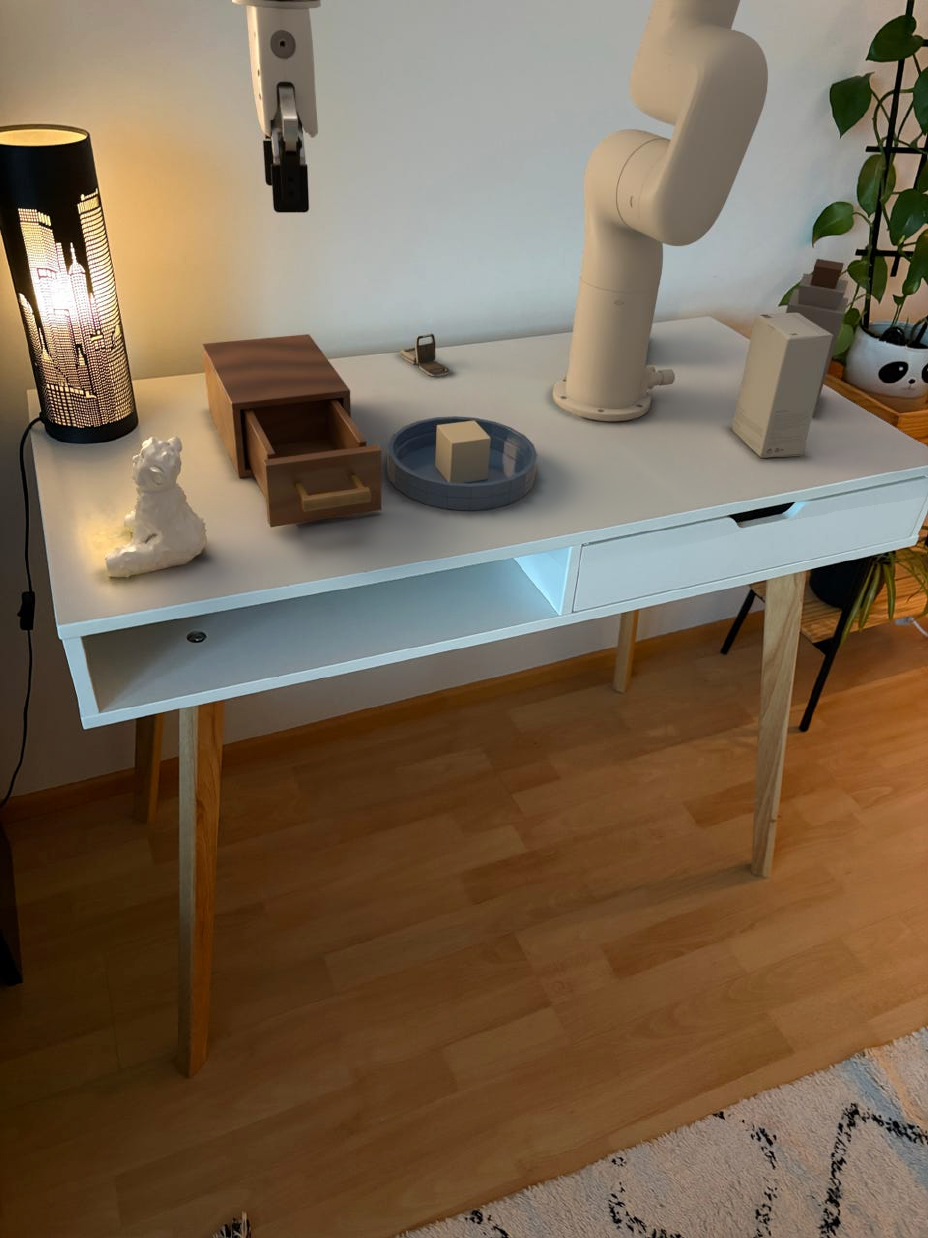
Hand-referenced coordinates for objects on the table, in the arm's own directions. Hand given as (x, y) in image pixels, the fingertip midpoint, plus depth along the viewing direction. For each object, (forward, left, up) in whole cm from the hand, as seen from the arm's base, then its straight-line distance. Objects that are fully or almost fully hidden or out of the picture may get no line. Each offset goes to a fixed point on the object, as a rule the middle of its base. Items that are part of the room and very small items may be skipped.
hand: (286, 197), depth 91 cm
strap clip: (-23, -20, -27) cm, 41 cm away
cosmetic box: (-55, +13, -27) cm, 62 cm away
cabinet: (+1, -4, -27) cm, 28 cm away
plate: (-16, +10, -27) cm, 33 cm away
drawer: (+1, +10, -26) cm, 28 cm away
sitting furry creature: (+17, +16, -27) cm, 36 cm away
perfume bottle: (-66, +4, -27) cm, 71 cm away
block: (-16, +10, -27) cm, 33 cm away
